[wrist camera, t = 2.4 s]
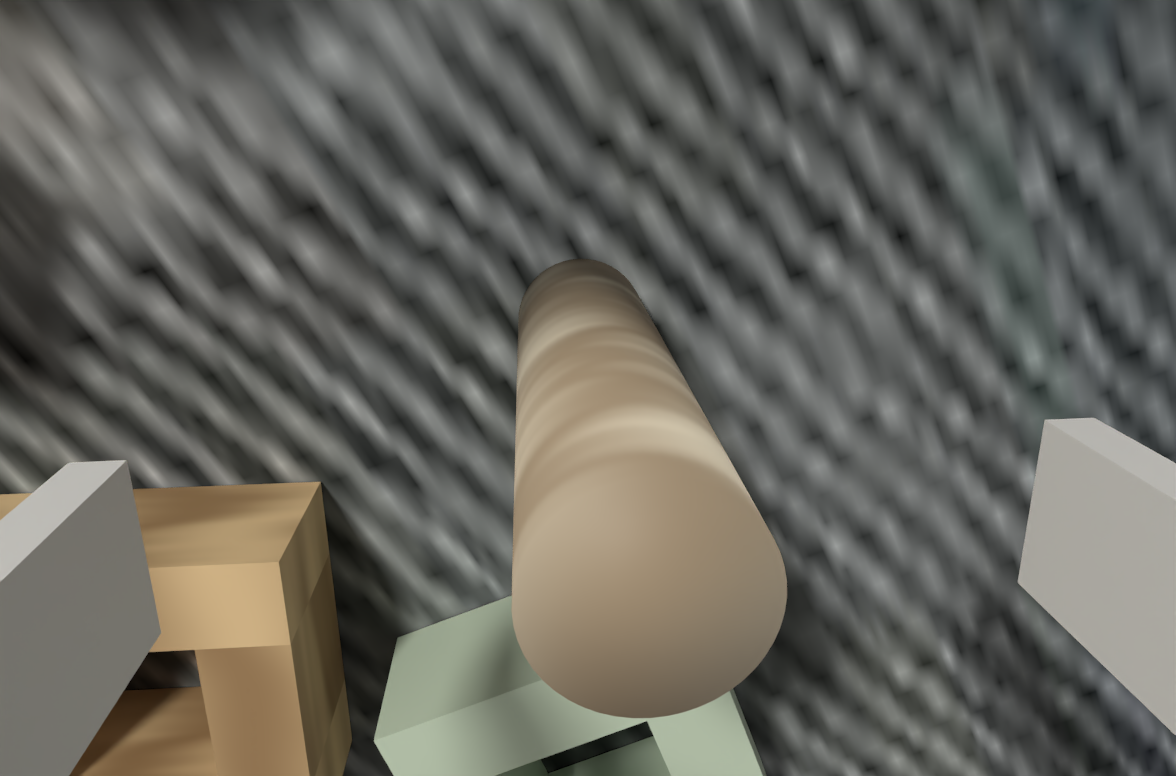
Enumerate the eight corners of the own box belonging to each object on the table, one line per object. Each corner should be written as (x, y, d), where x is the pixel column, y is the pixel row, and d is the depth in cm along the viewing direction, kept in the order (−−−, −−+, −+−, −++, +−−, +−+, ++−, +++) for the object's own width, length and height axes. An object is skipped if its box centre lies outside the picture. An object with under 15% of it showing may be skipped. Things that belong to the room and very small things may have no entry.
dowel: (643, 257, 23) (795, 470, 10) (642, 377, 25) (778, 710, 11) (515, 260, 23) (506, 483, 10) (520, 381, 24) (516, 725, 11)
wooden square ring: (320, 481, 25) (278, 561, 21) (352, 739, 28) (321, 856, 24) (-8, 494, 24) (-121, 579, 20) (59, 756, 27) (-27, 879, 23)
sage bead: (673, 535, 26) (702, 621, 22) (759, 757, 29) (800, 870, 25) (397, 637, 27) (373, 741, 22) (509, 845, 30) (507, 971, 25)
